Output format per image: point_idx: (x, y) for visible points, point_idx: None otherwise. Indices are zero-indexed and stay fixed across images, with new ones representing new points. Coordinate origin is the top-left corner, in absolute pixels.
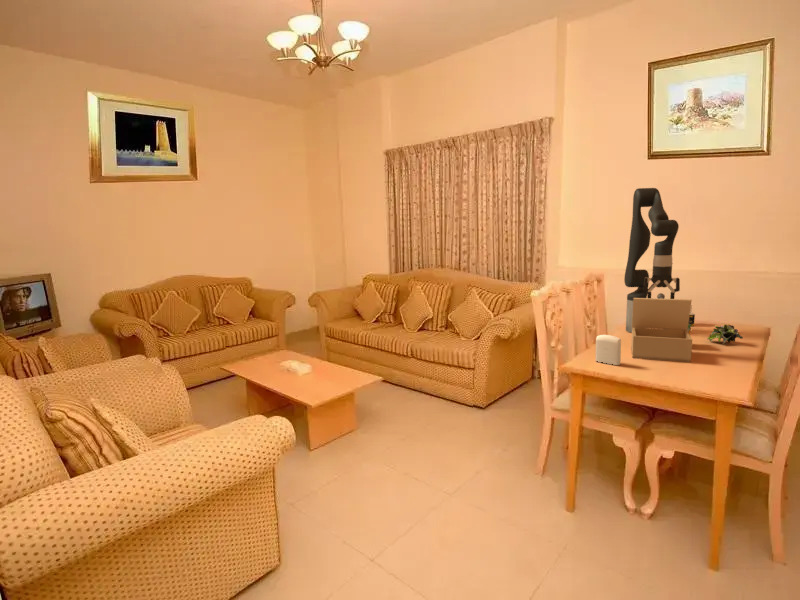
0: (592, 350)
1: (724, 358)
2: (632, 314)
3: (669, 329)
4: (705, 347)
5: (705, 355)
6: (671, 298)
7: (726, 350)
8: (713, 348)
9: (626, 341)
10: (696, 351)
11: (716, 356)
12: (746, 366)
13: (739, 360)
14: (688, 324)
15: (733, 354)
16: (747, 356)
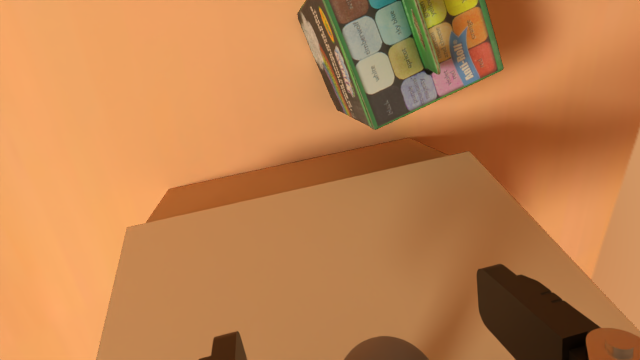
0: (7, 320)
1: (541, 169)
2: (104, 332)
3: (364, 123)
4: (495, 8)
5: (481, 158)
6: (507, 340)
7: (571, 27)
8: (526, 13)
9: (102, 55)
10: (452, 108)
11: (518, 153)
12: (588, 238)
13: (584, 172)
14: (491, 73)
15: (584, 88)
16: (625, 96)
